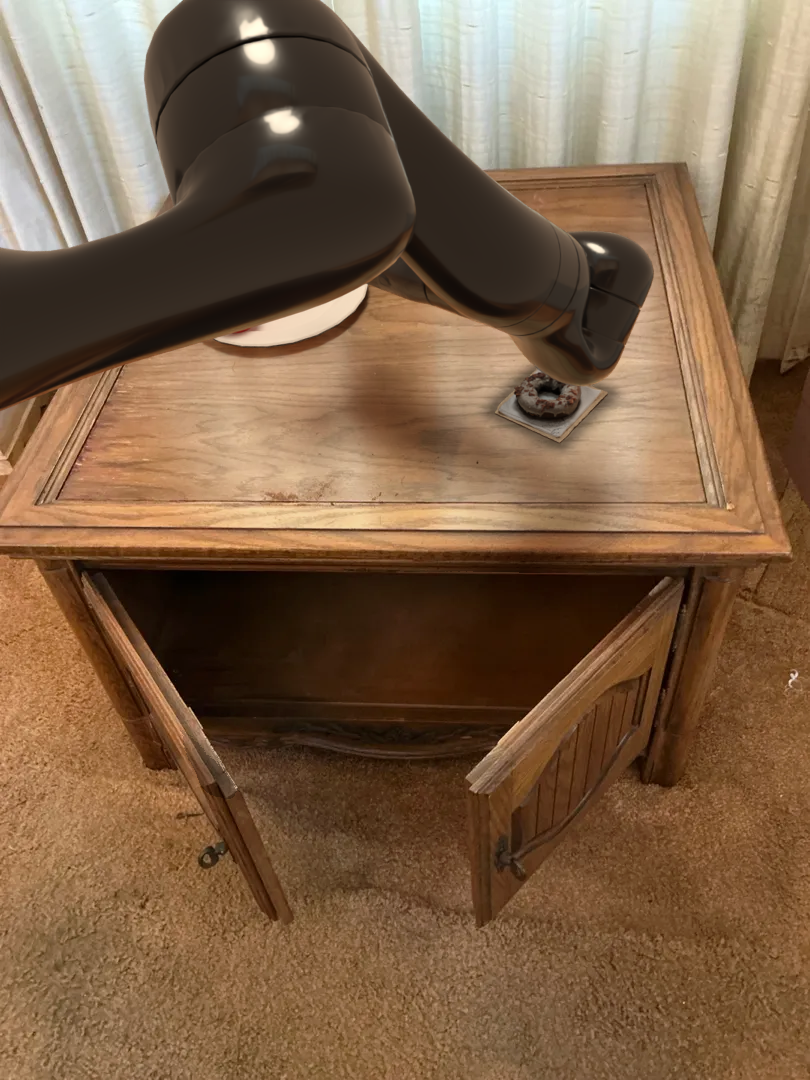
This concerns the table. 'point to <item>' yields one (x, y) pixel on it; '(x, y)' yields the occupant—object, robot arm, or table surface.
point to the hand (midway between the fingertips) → (260, 196)
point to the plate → (298, 324)
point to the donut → (549, 405)
